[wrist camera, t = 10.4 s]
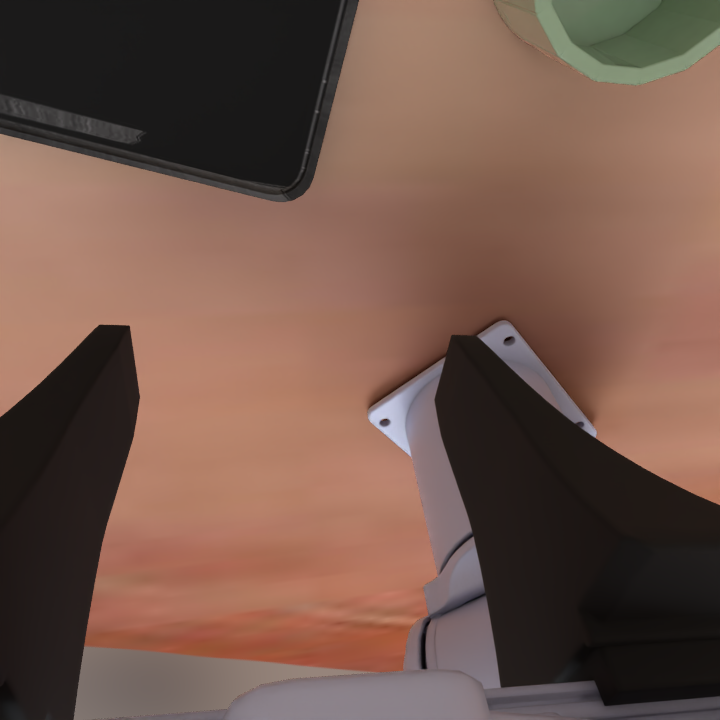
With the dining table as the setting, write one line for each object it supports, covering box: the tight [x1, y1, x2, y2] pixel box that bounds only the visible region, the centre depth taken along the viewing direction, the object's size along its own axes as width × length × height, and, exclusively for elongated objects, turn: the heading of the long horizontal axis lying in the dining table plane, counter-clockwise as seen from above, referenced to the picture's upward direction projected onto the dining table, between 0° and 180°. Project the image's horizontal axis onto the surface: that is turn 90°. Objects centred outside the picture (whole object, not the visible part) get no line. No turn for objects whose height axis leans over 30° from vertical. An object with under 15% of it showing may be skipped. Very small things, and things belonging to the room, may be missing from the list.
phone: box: [0, 0, 359, 202], centre depth 17 cm, size 8×1×15 cm
